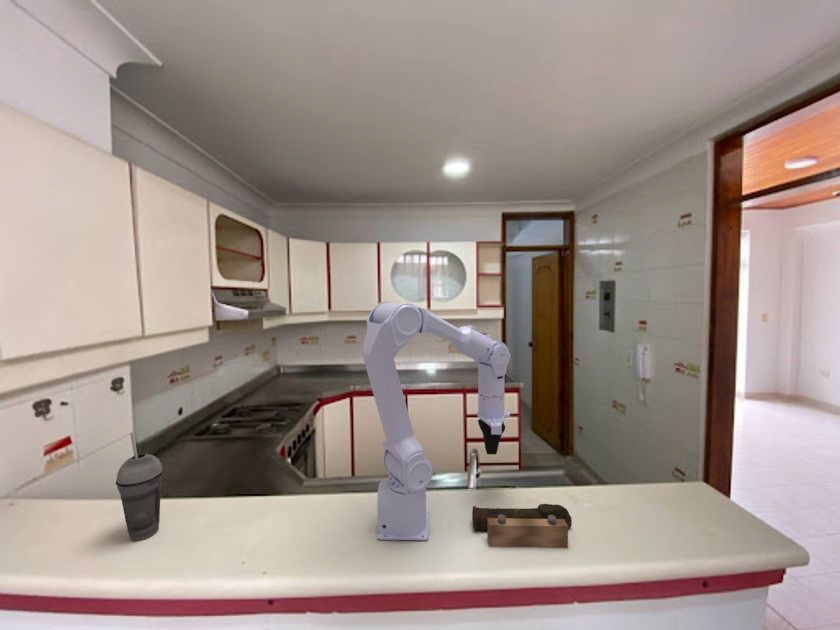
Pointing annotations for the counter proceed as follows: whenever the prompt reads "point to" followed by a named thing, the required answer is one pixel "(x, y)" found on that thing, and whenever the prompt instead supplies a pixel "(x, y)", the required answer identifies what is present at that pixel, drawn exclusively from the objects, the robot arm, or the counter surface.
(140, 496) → the beverage cup
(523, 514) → the hand tool
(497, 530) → the stop rail
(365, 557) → the counter surface
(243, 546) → the counter surface
